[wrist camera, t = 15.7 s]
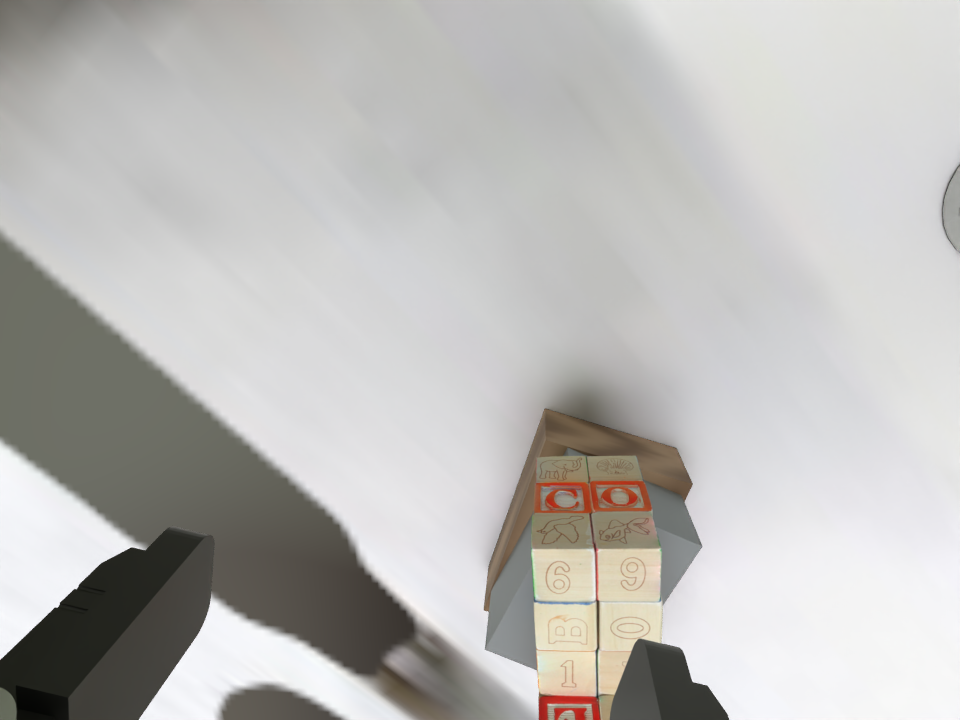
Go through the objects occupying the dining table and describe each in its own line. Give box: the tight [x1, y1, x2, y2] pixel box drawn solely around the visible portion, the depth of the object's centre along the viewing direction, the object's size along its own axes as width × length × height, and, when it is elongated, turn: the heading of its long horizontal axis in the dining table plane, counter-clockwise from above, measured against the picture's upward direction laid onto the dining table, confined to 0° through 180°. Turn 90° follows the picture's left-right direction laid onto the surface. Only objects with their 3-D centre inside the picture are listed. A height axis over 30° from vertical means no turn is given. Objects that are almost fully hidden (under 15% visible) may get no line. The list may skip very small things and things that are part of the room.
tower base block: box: [484, 409, 693, 612], centre depth 49 cm, size 11×16×6 cm
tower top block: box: [485, 448, 702, 670], centre depth 44 cm, size 9×14×6 cm, turn 157°
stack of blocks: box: [531, 456, 663, 720], centre depth 35 cm, size 21×6×12 cm, turn 4°
